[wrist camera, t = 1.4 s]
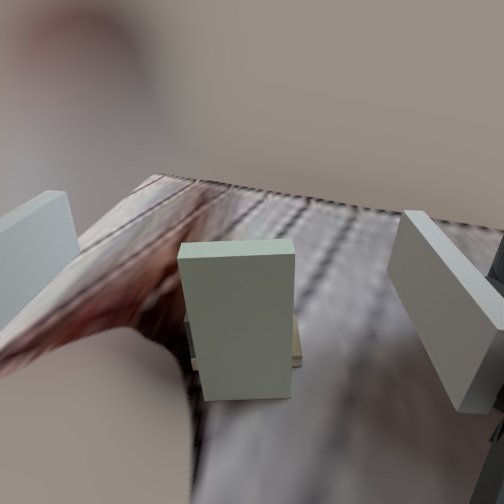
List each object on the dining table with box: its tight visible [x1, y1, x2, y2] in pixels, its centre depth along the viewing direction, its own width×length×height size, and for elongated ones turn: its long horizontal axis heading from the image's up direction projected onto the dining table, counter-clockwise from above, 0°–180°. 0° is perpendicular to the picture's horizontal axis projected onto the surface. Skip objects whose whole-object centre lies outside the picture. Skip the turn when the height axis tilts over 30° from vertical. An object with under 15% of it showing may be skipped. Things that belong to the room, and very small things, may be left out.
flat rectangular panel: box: [177, 238, 295, 401], centre depth 29 cm, size 8×3×16 cm, turn 91°
